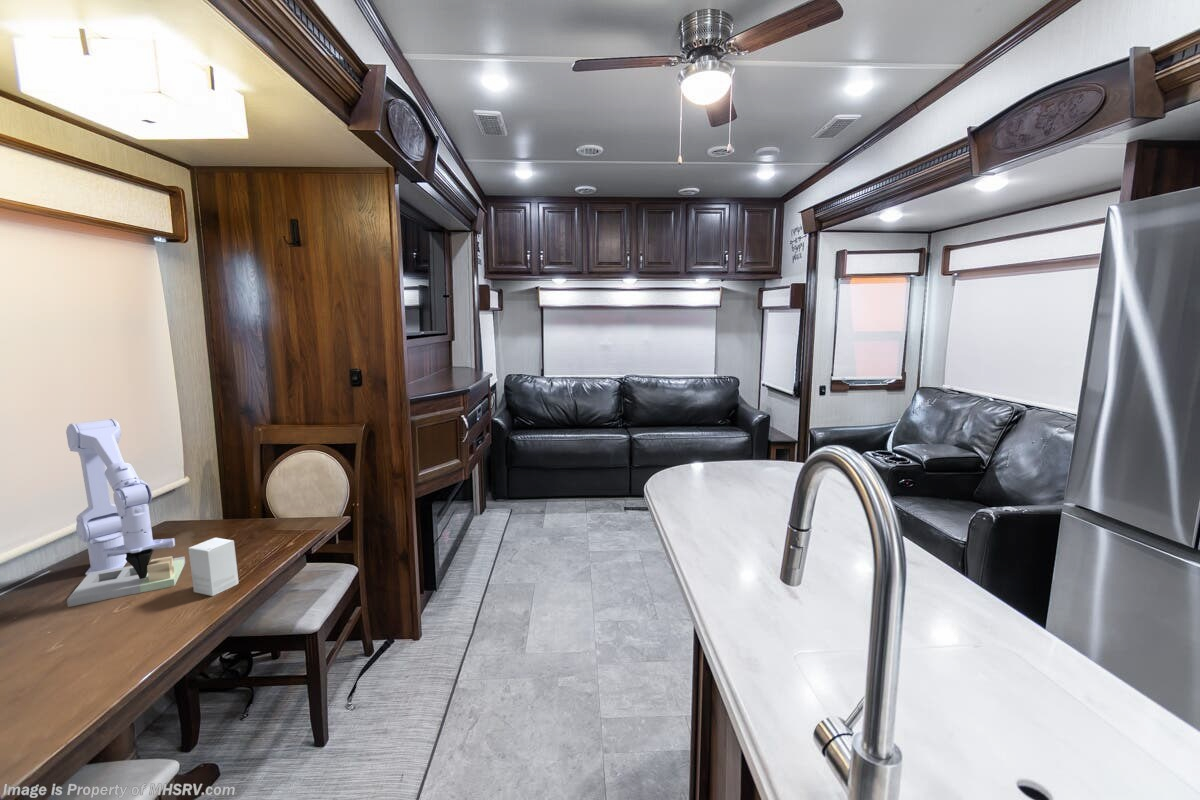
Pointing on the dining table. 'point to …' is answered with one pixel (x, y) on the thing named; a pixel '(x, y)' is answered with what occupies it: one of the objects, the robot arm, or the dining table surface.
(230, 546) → the supplement box
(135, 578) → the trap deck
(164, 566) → the maple block
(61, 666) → the dining table surface
